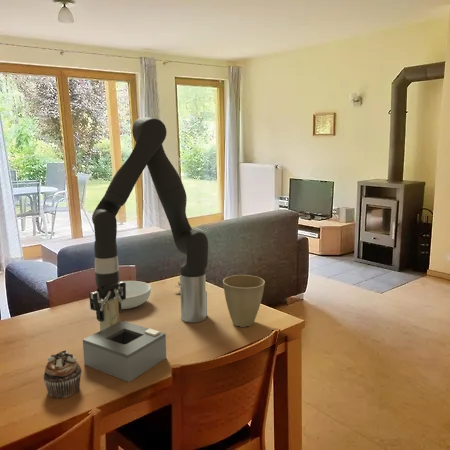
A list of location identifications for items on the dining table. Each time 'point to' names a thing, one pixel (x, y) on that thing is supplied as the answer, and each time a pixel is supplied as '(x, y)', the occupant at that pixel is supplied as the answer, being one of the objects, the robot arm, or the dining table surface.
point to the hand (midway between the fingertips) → (109, 316)
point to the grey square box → (124, 350)
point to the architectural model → (177, 285)
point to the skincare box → (110, 313)
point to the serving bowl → (135, 294)
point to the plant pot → (243, 298)
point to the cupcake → (62, 375)
